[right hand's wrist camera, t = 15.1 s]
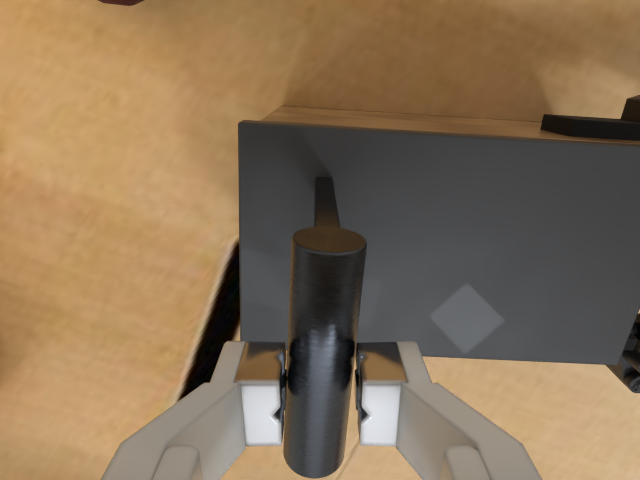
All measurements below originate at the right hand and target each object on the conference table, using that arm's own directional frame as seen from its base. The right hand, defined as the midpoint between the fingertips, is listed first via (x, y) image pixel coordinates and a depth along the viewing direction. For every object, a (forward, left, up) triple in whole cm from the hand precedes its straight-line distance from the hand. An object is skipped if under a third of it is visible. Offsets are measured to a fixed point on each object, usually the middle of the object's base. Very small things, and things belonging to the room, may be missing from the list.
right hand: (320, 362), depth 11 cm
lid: (+5, -1, -8) cm, 10 cm away
